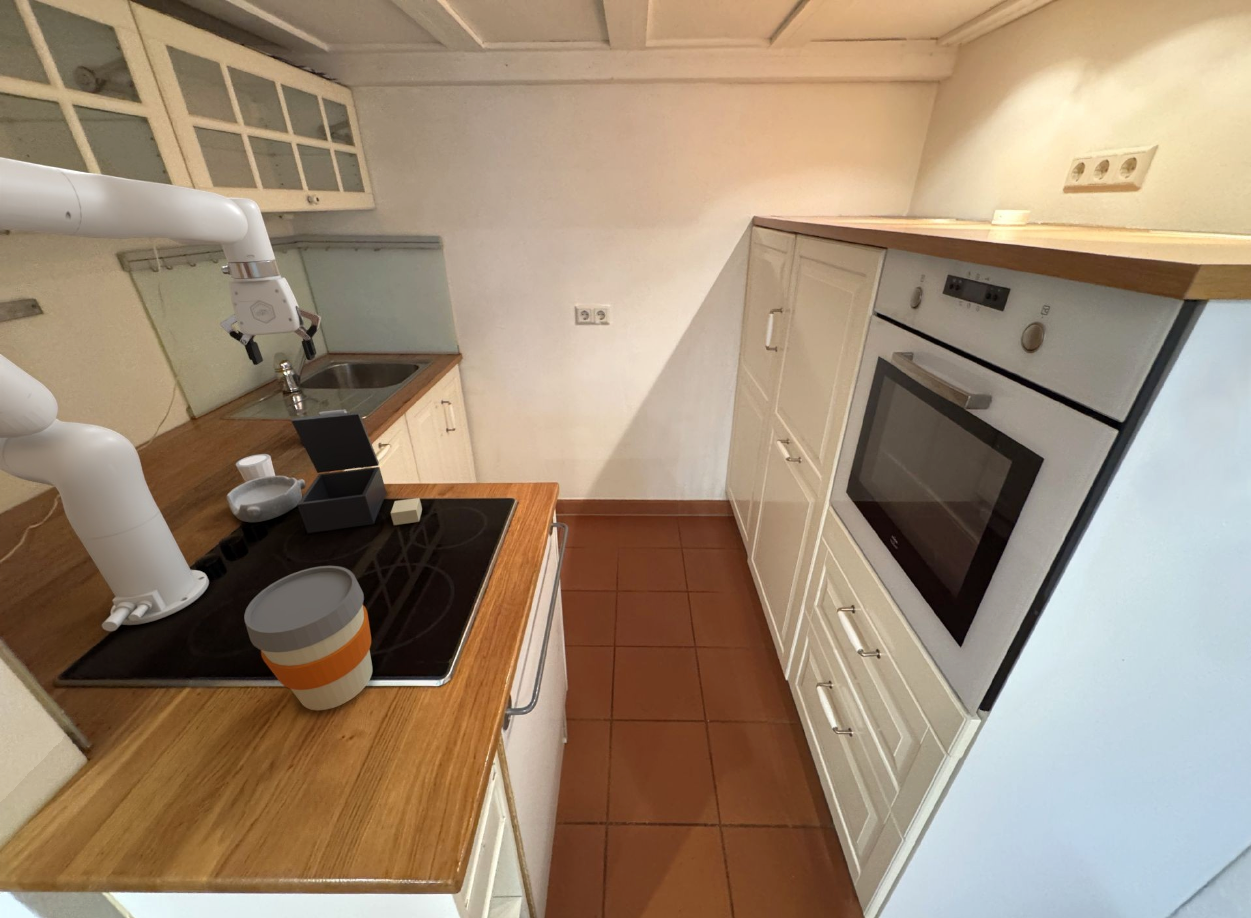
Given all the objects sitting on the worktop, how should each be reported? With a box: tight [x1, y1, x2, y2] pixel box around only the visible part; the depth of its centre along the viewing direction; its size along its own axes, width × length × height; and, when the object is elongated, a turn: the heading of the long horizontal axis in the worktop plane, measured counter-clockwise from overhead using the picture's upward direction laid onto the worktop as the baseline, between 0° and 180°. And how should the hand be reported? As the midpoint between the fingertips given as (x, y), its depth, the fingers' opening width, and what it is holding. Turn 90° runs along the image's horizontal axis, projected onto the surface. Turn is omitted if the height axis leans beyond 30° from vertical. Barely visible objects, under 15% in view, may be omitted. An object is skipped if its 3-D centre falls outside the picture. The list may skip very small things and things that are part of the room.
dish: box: [226, 475, 307, 523], centre depth 110 cm, size 14×14×5 cm
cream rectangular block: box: [390, 497, 423, 526], centre depth 105 cm, size 5×5×3 cm
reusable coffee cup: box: [243, 565, 373, 711], centre depth 65 cm, size 13×13×15 cm
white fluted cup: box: [235, 453, 276, 483], centre depth 119 cm, size 7×7×7 cm
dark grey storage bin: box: [296, 466, 388, 534], centre depth 107 cm, size 14×13×7 cm
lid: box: [291, 409, 380, 474], centre depth 108 cm, size 14×13×5 cm
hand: (285, 361), depth 101 cm, fingers open, 9 cm apart
